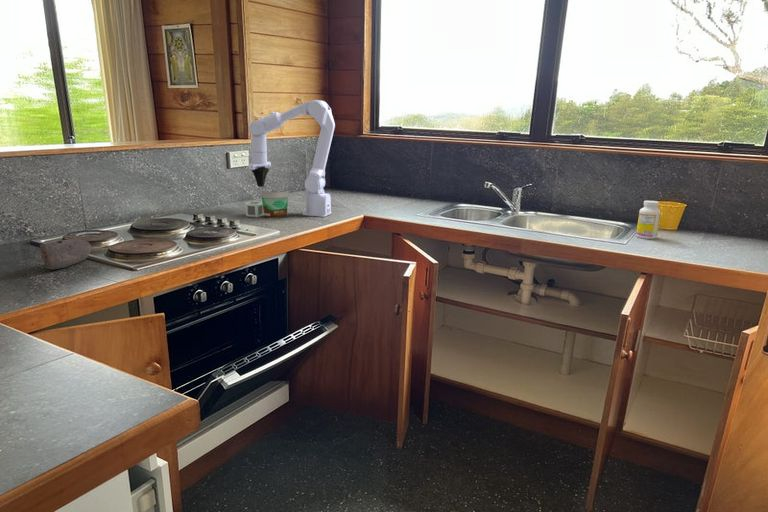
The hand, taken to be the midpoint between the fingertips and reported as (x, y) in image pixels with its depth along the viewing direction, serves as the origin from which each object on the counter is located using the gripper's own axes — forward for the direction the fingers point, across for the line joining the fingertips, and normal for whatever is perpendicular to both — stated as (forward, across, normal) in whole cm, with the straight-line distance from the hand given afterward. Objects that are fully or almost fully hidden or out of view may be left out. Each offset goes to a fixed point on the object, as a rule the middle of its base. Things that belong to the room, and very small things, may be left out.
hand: (260, 186), depth 210 cm
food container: (+11, +7, +11) cm, 17 cm away
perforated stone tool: (+11, +86, -10) cm, 87 cm away
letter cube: (+10, +8, +1) cm, 13 cm away
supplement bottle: (+11, -9, +145) cm, 146 cm away
